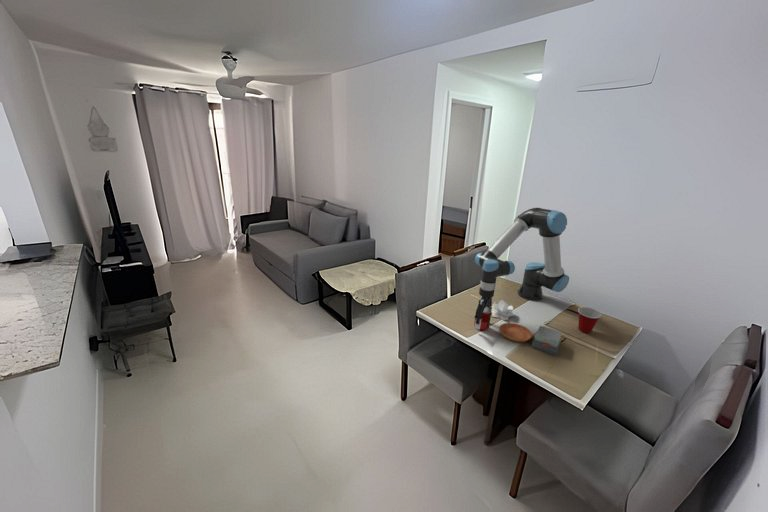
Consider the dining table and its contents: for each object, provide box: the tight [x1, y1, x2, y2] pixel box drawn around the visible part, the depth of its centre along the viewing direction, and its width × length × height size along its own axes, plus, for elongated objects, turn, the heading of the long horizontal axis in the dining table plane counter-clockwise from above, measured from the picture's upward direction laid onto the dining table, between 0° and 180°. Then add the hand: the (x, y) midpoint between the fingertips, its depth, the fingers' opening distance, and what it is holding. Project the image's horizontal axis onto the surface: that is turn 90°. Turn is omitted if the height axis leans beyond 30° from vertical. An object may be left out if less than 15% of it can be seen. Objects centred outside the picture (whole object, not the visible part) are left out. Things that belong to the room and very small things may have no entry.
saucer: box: [499, 322, 533, 343], centre depth 160 cm, size 16×16×3 cm
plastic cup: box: [577, 306, 602, 334], centre depth 165 cm, size 11×11×12 cm
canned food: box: [473, 305, 492, 331], centre depth 166 cm, size 8×8×11 cm
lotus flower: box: [491, 299, 516, 321], centre depth 180 cm, size 14×15×9 cm
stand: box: [531, 325, 563, 356], centre depth 151 cm, size 13×11×7 cm
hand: (481, 323), depth 167 cm, fingers open, 12 cm apart
